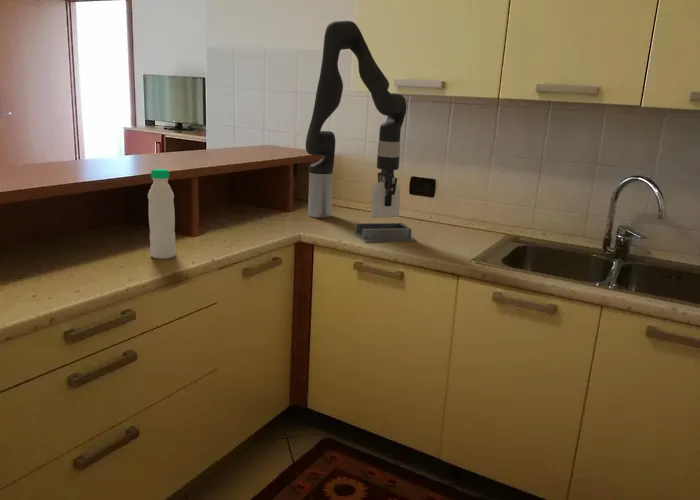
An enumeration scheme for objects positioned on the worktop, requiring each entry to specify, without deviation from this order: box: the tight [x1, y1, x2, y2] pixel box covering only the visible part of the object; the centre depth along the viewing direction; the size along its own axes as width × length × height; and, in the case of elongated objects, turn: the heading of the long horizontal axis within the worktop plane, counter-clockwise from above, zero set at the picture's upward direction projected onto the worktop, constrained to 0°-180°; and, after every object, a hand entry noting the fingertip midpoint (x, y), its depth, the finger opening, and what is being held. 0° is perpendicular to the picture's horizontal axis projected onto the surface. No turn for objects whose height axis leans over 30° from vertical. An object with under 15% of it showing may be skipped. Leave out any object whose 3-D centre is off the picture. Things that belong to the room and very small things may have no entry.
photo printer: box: [370, 181, 401, 219], centre depth 200 cm, size 10×4×12 cm, turn 114°
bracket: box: [353, 222, 416, 243], centre depth 203 cm, size 14×18×4 cm
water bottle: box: [147, 168, 177, 260], centre depth 165 cm, size 7×7×25 cm
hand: (385, 204), depth 201 cm, fingers closed on photo printer, 4 cm apart
